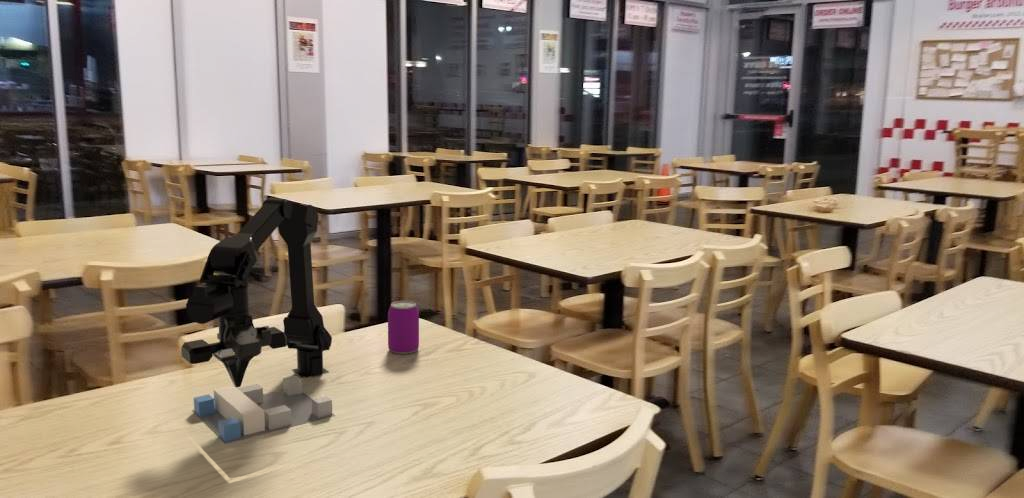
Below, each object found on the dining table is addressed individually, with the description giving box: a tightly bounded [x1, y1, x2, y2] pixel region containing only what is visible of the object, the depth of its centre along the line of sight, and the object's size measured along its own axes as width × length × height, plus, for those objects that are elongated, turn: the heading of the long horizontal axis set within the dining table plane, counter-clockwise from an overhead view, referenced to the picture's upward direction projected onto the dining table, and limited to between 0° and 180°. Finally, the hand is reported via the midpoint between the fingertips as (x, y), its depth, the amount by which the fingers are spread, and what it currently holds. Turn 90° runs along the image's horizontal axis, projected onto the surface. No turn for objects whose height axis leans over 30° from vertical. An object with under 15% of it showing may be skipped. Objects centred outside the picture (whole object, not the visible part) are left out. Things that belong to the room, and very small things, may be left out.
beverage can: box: [387, 300, 420, 355], centre depth 204 cm, size 8×8×12 cm
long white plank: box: [213, 384, 265, 435], centre depth 160 cm, size 16×4×4 cm, turn 39°
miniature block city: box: [191, 375, 336, 445], centre depth 163 cm, size 19×22×4 cm
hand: (237, 386), depth 159 cm, fingers closed
